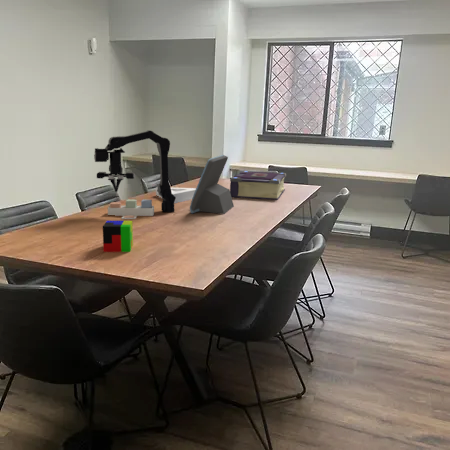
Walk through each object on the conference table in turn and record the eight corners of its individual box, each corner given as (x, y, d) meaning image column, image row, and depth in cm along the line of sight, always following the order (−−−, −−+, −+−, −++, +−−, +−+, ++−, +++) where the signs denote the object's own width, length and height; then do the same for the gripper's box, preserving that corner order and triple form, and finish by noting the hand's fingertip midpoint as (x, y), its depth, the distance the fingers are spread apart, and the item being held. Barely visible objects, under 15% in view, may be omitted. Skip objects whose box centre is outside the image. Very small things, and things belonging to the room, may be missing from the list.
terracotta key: (121, 211, 248) (121, 202, 247) (120, 213, 243) (119, 204, 242) (111, 211, 248) (111, 202, 247) (110, 213, 243) (110, 204, 242)
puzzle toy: (107, 244, 188) (106, 220, 185) (132, 244, 189) (132, 220, 186) (103, 251, 178) (102, 226, 176) (130, 251, 179) (129, 226, 177)
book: (227, 197, 306) (228, 176, 303) (240, 188, 349) (241, 169, 346) (278, 200, 299) (279, 179, 296) (285, 190, 342) (286, 171, 339)
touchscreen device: (204, 202, 285) (207, 153, 278) (235, 205, 281) (239, 155, 274) (186, 213, 252) (188, 157, 245) (221, 217, 247) (224, 160, 240)
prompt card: (136, 216, 241) (136, 215, 241) (135, 219, 235) (135, 217, 235) (123, 216, 241) (123, 215, 240) (121, 218, 235) (121, 217, 235)
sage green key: (136, 208, 248) (136, 199, 247) (135, 210, 243) (135, 201, 242) (127, 208, 248) (126, 199, 247) (125, 210, 243) (125, 201, 242)
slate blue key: (151, 208, 249) (151, 199, 248) (151, 210, 244) (150, 201, 243) (142, 208, 249) (142, 199, 247) (141, 210, 244) (141, 201, 243)
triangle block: (173, 204, 279) (173, 194, 278) (140, 199, 292) (140, 189, 291) (201, 198, 304) (202, 188, 303) (170, 193, 317) (170, 184, 316)
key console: (154, 213, 251) (154, 205, 250) (153, 215, 244) (153, 208, 243) (110, 212, 249) (110, 205, 248) (107, 215, 242) (107, 207, 241)
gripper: (135, 160, 248) (136, 189, 252) (99, 160, 247) (101, 189, 250) (133, 162, 237) (133, 192, 241) (95, 162, 236) (97, 192, 240)
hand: (116, 191), depth 243 cm, fingers closed
